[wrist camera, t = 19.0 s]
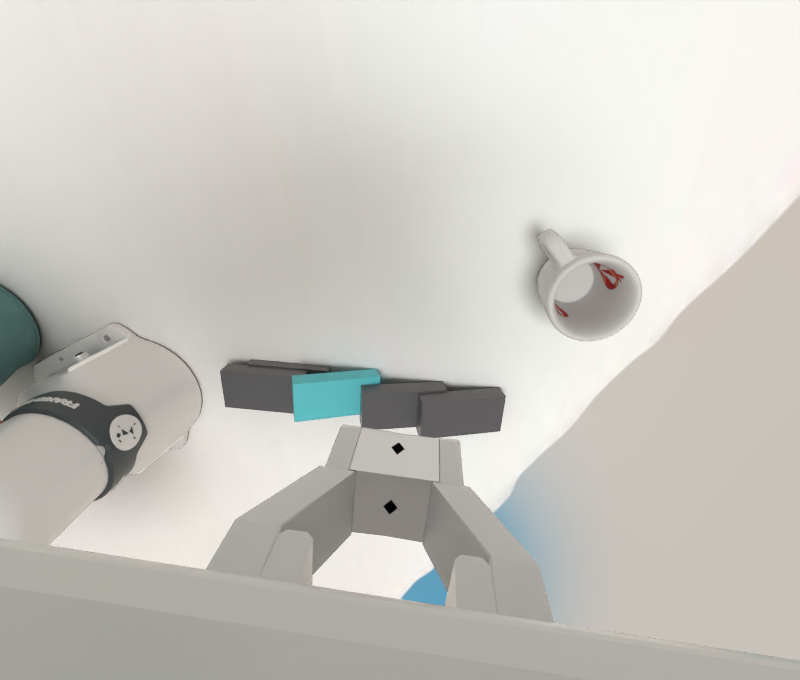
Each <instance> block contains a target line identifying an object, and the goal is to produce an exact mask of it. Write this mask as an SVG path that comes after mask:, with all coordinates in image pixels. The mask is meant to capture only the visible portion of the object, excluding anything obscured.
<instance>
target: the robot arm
mask: <svg viewBox="0 0 800 680" xmlns="http://www.w3.org/2000/svg"><path fill="white" fill-rule="evenodd" d="M108 336H109V337H110V338H109V337H108ZM33 373H34V379H35V383H36V384H34V385H32V386H30V387H28V388H26V389H24V390H23V391H21V392H20V393H19V394H18V396H17V407H16V408H15V409H14V410H13V411H11V412H10V414H9V415H8V416H6V417H5V418H4V419H3V421H0V680H800V661H799V660H793V659H786V658H780V657H773V656H767V655H760V654H754V653H747V652H740V651H733V650H728V649H720V648H715V647H707V646H702V645H695V644H688V643H682V642H675V641H668V640H662V639H656V638H649V637H643V636H636V635H629V634H623V633H616V632H610V631H603V630H596V629H590V628H584V627H577V626H570V625H564V624H557V623H554V622H553V618H552V614H551V610H550V606H549V602H548V599H547V595H546V591H545V587H544V583H543V579H542V575H541V571H540V568H539V565H538V563H537V562H536V561H535V560H534V559H533V558H532V557H531V556H530V554H529V553H528V552H527V551H526V550H525V549H524V548H523V547H522V545H521V544H520V543H519V542H518V541H517V540H516V539H515V537H514V536H513V535H512V534H511V533H510V532H509V531H508V530H507V528H506V527H505V526H504V525H503V524H502V523H501V522H500V521H499V519H498V518H497V517H496V516H495V515H494V514H493V513H492V512H491V510H490V509H489V508H488V507H487V506H486V505H485V504H484V503H483V501H482V500H481V499H480V498H479V497H478V496H477V495H476V493H475V492H474V491H473V490H472V489H471V488H470V487H467V486H464V483H463V472H462V460H461V449H460V442H459V440H455V439H446V438H431V437H424V436H416V435H408V434H400V433H396V432H390V431H383V430H377V429H371V428H364V427H363V428H361V427H357V426H350V425H342V426H341V427H340V430H339V432H338V435H337V438H336V440H335V443H334V445H333V448H332V451H331V453H330V456H329V458H328V461H327V463H326V466H325V467H323V466H319V467H317V468H316V469H314V470H312V471H311V472H309V473H308V474H306V475H305V476H303V477H301V478H300V479H298V480H297V481H295V482H294V483H292V484H290V485H289V486H287V487H286V488H284V489H283V490H281V491H279V492H278V493H276V494H275V495H273V496H272V497H270V498H268V499H267V500H265V501H264V502H262V503H261V504H259V505H257V506H256V507H254V508H253V509H251V510H250V511H248V512H246V513H245V514H243V515H242V516H240V517H239V518H237V519H235V521H234V523H233V524H232V526H231V528H230V530H229V531H228V533H227V535H226V536H225V538H224V540H223V541H222V543H221V545H220V546H219V548H218V550H217V551H216V553H215V555H214V557H213V558H212V560H211V562H210V563H209V565H208V567H207V568H206V570H205V569H199V568H192V567H186V566H179V565H173V564H166V563H159V562H153V561H146V560H140V559H133V558H127V557H120V556H114V555H107V554H101V553H94V552H88V551H81V550H74V549H68V548H61V547H55V546H49V545H50V544H51V543H52V542H53V541H54V540H55V539H56V538H57V537H58V536H59V535H60V534H61V533H62V532H63V531H64V530H65V529H66V528H67V527H68V526H69V525H70V524H71V523H72V522H73V521H74V520H75V519H76V518H77V517H78V516H79V515H80V514H81V513H82V512H83V511H84V510H85V509H86V508H87V507H88V506H89V505H90V504H91V503H92V502H93V501H96V500H98V499H100V498H102V497H103V496H105V495H106V494H107V493H108V492H109V491H110V490H113V489H114V488H115V487H116V486H117V485H119V484H120V483H121V482H122V480H123V479H124V478H125V477H126V476H127V475H132V474H135V475H137V474H139V473H141V472H143V471H144V470H145V469H146V468H147V467H148V466H150V465H151V464H152V463H153V462H154V461H155V460H157V459H158V458H159V457H160V456H161V455H162V454H164V453H165V452H166V451H167V450H168V449H180V448H181V447H182V446H183V445H185V444H186V442H187V438H188V430H189V428H190V427H191V426H192V424H193V423H194V422H195V421H196V419H197V418H198V416H199V414H200V410H201V405H202V398H201V392H200V388H199V385H198V383H197V381H196V379H195V377H194V375H193V374H192V372H191V371H190V369H189V368H188V367H187V366H186V364H185V363H184V362H183V361H182V360H181V359H180V358H178V357H177V356H176V355H175V354H173V353H172V352H171V351H169V350H167V349H166V348H164V347H162V346H160V345H158V344H155V343H153V342H150V341H147V340H144V339H142V338H140V337H137V336H136V335H135V334H134V333H132V332H131V331H130V330H128V329H127V328H125V327H124V326H122V325H120V324H117V323H113V324H110V325H108V326H106V327H105V328H103V329H101V330H99V331H97V332H95V333H93V334H91V335H89V336H87V337H85V338H83V339H82V340H80V341H78V342H76V343H74V344H72V345H70V346H68V347H66V348H64V349H62V350H60V351H58V352H57V353H55V354H53V355H51V356H49V357H47V358H45V359H43V360H41V361H40V362H38V363H37V364H35V365H34V367H33ZM351 532H357V533H366V534H374V535H383V536H390V537H395V538H401V539H407V540H413V541H418V542H423V546H424V548H425V550H426V552H427V554H428V556H429V558H430V560H431V561H432V563H433V565H434V567H435V569H436V571H437V573H438V575H439V577H440V579H441V581H442V583H443V585H444V587H445V589H446V590H447V592H448V593H447V598H446V603H445V606H440V605H434V604H428V603H421V602H414V601H408V600H401V599H395V598H388V597H382V596H375V595H369V594H362V593H356V592H349V591H343V590H336V589H329V588H323V587H316V586H312V575H313V574H314V573H315V572H316V571H317V570H318V569H319V568H320V567H321V565H322V564H323V563H324V562H325V561H326V560H327V559H328V558H329V557H330V556H331V555H332V554H333V553H334V552H335V551H336V550H337V549H338V547H339V546H340V545H341V544H342V543H343V542H344V541H345V540H346V539H347V538H348V537H349V536H350V535H351Z"/></svg>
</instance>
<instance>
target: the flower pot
mask: <svg viewBox="0 0 800 680" xmlns="http://www.w3.org/2000/svg"><path fill="white" fill-rule="evenodd" d="M39 346H40V337H39V331H38V328H37V325H36V323H35V321H34V319H33V317H32V316H31V314H30V312H29V311H28V310H27V308H26V307H25V306H24V305H23V304H22V303H21V302H20V301H19V300H18V299H17V298H16V297H15V296H14V295H13V294H11V293H10V292H9V291H7V290H6V289H4V288H3V287H1V286H0V386H1V385H2V384H3V383H4V382H5V381H6V380H7V379H8V378H9V377H10V376H11V375H12V374H13V373H14V372H15V371H16V370H18V369H19V368H20V367H21V366H24V365H26V364H28V363H30V362H31V361H32V360H33V359H34V358H35V356H36V355H37V353H38V350H39Z"/></svg>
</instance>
